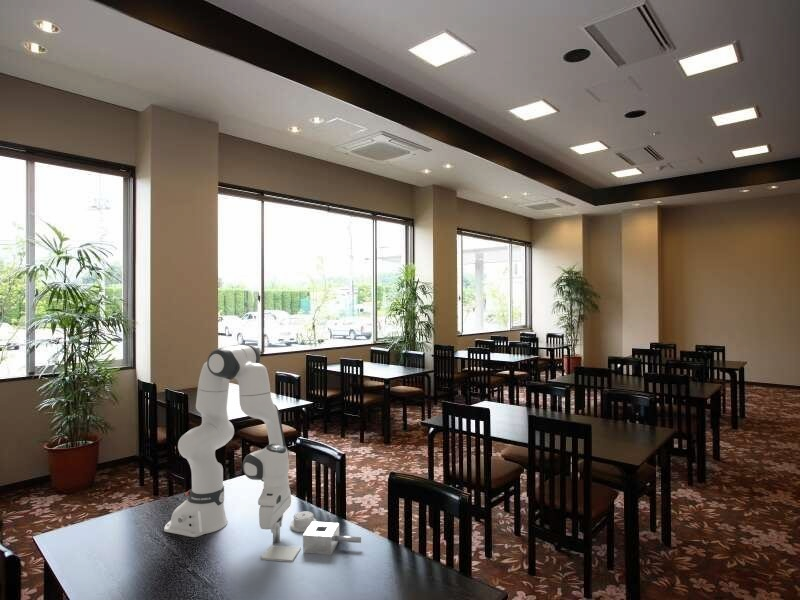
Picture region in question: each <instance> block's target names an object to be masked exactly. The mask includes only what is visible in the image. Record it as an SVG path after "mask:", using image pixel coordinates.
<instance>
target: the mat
mask: <svg viewBox="0 0 800 600" xmlns="http://www.w3.org/2000/svg"><path fill="white" fill-rule="evenodd" d="M301 549H302V548H301V547H299V546H286V545H285V546H284V545H273V544H272V545H271V544H270V545H269V547H268V548H267V549H266V550H265V552H264V553H263V554H262V555H261V557H260V560H261V561H262V560H263V561H274V562H275V561H278V562H290V563H293V561H294V560H295V559H296V558H297V556H298V554H299V553H300V551H301Z"/></svg>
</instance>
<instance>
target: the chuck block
mask: <svg viewBox="0 0 800 600" xmlns="http://www.w3.org/2000/svg"><path fill="white" fill-rule="evenodd" d="M339 542H343V543H357V544H362V543H361V542H362V537H361V536H351V535H350V536H348V535H340V523H339V522H327V521H326V522H325V521H317V522H314V521H312V523H311V524H310V526H309V527H308V529H307V530H306V531H305V532H303V534H302V552H303V553H306V554H317V555H318V554H319V555H332V554H333V553H334V550H335V549H336V547H337V545H338V543H339ZM303 553H302V554H303Z"/></svg>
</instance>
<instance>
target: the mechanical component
mask: <svg viewBox="0 0 800 600" xmlns="http://www.w3.org/2000/svg"><path fill="white" fill-rule="evenodd" d="M312 521H314V522H318V521H317V519H316V518H315V517H314V513H313V511H312V512H311V511H309V510H308V511H307V510H306V511H305V510H304V511H298V512H297V513H295V514H294V516H293V520H292V521H290V523H289V524H290V526H289V527H290V529H291V530H292V532H293V531H294V532H297V533H305V531H306V530H307V529H308V527H309V526H310V524H311V523H312Z"/></svg>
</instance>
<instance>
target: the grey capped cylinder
mask: <svg viewBox="0 0 800 600" xmlns="http://www.w3.org/2000/svg"><path fill="white" fill-rule="evenodd" d="M280 521H281V517H280V518H279V519H278V521H277V523H276V527H277V532H276V533H272V543H274V544H278V543H280V542H281V527H280Z"/></svg>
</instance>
